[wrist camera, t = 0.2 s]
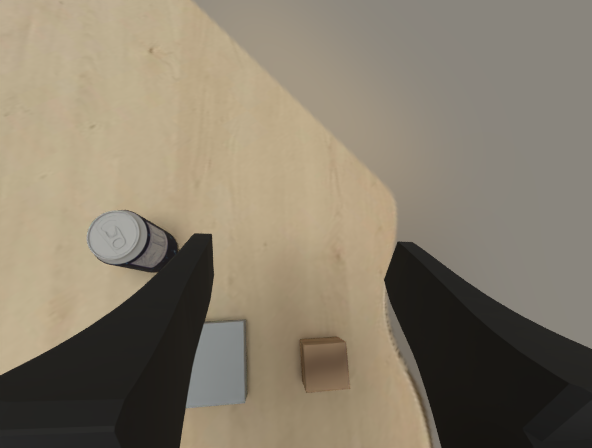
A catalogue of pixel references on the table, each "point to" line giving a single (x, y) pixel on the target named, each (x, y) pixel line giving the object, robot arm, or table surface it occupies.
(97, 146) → the table surface
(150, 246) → the beverage can
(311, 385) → the walnut cube
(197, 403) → the grey block
